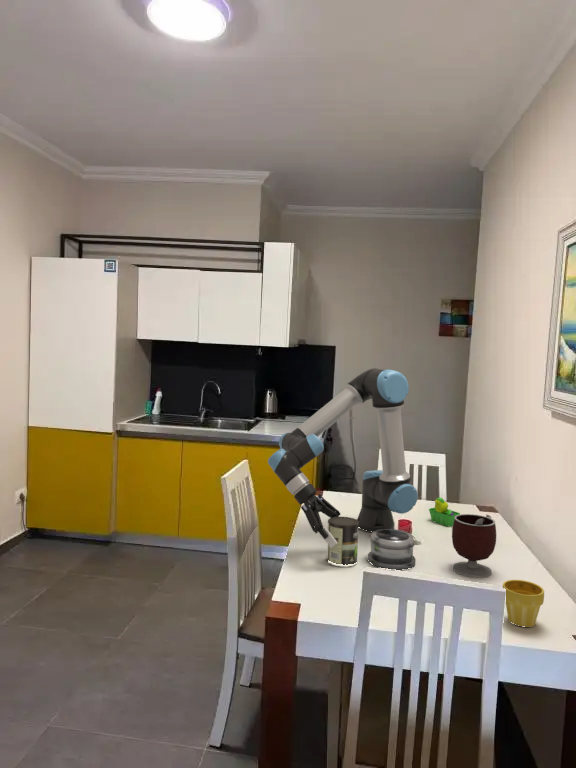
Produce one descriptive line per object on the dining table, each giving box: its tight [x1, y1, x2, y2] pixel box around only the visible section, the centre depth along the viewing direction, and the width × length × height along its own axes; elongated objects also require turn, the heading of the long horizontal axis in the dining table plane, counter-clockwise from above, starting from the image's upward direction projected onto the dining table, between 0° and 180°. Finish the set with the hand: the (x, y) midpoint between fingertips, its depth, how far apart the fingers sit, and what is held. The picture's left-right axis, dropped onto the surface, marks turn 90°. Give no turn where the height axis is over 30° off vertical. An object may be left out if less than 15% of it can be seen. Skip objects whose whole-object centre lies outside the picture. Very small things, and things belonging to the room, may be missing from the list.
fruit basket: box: [428, 497, 461, 527], centre depth 246 cm, size 11×9×11 cm
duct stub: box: [367, 528, 417, 571], centre depth 199 cm, size 16×16×9 cm
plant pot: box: [502, 579, 545, 628], centre depth 157 cm, size 10×10×10 cm
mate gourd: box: [451, 513, 497, 579], centre depth 192 cm, size 16×14×20 cm
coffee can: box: [326, 516, 359, 565], centre depth 197 cm, size 10×10×14 cm
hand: (341, 539), depth 197 cm, fingers open, 13 cm apart
